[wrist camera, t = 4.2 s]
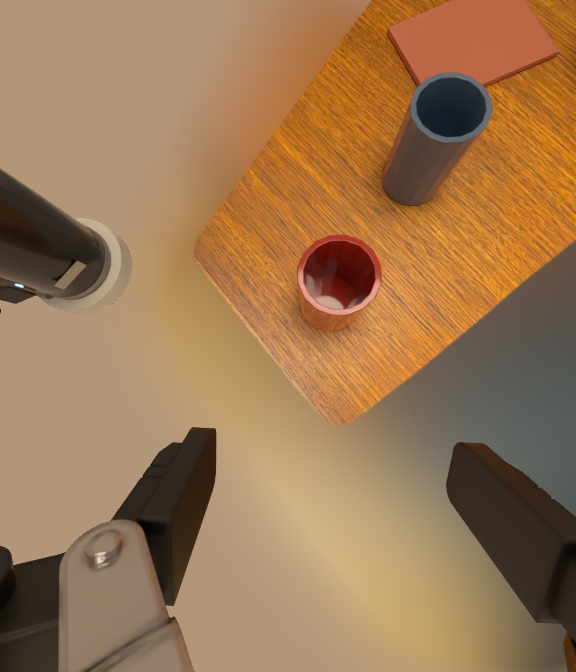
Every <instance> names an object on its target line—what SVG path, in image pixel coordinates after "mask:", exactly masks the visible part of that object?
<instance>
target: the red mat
mask: <svg viewBox="0 0 576 672" xmlns="http://www.w3.org/2000/svg"><path fill="white" fill-rule="evenodd" d="M387 34H388V36H389V38H390V39H391V41H392V43H393V45H394V46H395V48H396V50H397V51H398V53H399V55H400V57H401V58H402V60H403V62H404V64H405V65H406V67H407V69H408V70H409V72H410V74H411V76H412V77H413V79H414V81H415V83H416V84H417V86H420V85H421V84H422V83H423V82H424V81H425V80H426V79H427V78H430V77H432V76H434V75H437V74H439V73H450V72H455V73H456V72H457V73H461V74H464V75H468V76H470V77H473V78H474V79H475V80H477V81H478V82H480V83H481V84H482V85H483V86H484V87H485V86H488V85H490V84H492V83H495V82H497V81H499V80H502V79H504V78H506V77H509V76H511V75H513V74H516V73H518V72H520V71H523V70H525V69H527V68H530V67H532V66H534V65H537V64H539V63H541V62H543V61H546V60H548V59H550V58H553V57H555V56H556V55H557V54H558V52H559V50H558V48H557V47H556V45H555V44H554V42H553V41H552V39H551V38H550V36H549V35H548V34H547V32H546V31H545V29H544V28H543V26H542V25H541V23H540V22H539V20H538V19H537V18H536V16H535V15H534V13H533V12H532V10H531V9H530V7H529V6H528V4H527V3H526V1H525V0H452V1H449V2H447V3H445V4H442V5H440V6H438V7H435V8H433V9H431V10H429V11H426V12H424V13H422V14H419V15H417V16H415V17H412V18H410V19H408V20H405V21H403V22H401V23H398V24H396V25H394V26H391V27H389V28H388V31H387Z"/></svg>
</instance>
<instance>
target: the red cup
mask: <svg viewBox="0 0 576 672" xmlns="http://www.w3.org/2000/svg"><path fill="white" fill-rule="evenodd" d="M297 274H298V294H299V307H300V310H301V313H302V315H303V317H304V318H305V320H306V321H307V322H308V323H309V324H310V325H311V326H313V327H314V328H316V329H318V330H321V331H327V332H332V331H338V330H341V329H343V328H345V327H347V326H349V325H350V324H351V323H352V322H353V321H354V319H355V318H356V317H357V316H358V315H359V314H360V313H361V312H362V311H363V310H364V309H365V308H366V307H367V306H368V305H369V303H370V302H371V301H372V300H373V299H374V298H375V297H376V295H377V292H378V290H379V287H380V284H381V281H382V278H381V265H380V263H379V261H378V259H377V257H376V255H375V253H374V251H373V250H372V249H371V248H370V247H369V246H367V245H366V244H365V243H364V242H363V241H361V240H359V239H356V238H353V237H351V236H348V235H330V236H327V237H325V238H323V239H320V240H318V241H316V242H314V243H313V244H312V245H311V246H310V247H309V248H308V249H307V250H306V251H305V252H304V254H303V255H302V258H301V260H300V263H299V265H298V268H297Z"/></svg>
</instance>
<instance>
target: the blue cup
mask: <svg viewBox="0 0 576 672" xmlns="http://www.w3.org/2000/svg"><path fill="white" fill-rule="evenodd" d="M491 114H492V104H491V98H490V95H489V94H488V92H487V90H486V89H485V87H484V86H483V85H482V84H481V83H480V82H478V81H477V80H475V79H474V78H473V77H470V76H468V75H464V74H461V73H457V72H456V73H455V72H450V73H439V74H437V75H434V76H432V77H430V78H427V79H426V80H425V81H424V82H423V83H422V84H421V85H420V86H418V87H417V88H416V90H415V91H414V94H413V97H412V99H411V102H410V104H409V107H408V109H407V112H406V114H405V117H404V120H403V122H402V125H401V127H400V130H399V132H398V135H397V138H396V140H395V143H394V145H393V148H392V150H391V153H390V156H389V158H388V161H387V163H386V166H385V168H384V171H383V176H382V182H383V186H384V189H385V191H386V192H387V194H388V195H389V196H390V197H391V198H392V199H393V200H395V201H396V202H398V203H401V204H404V205H420V204H423V203H425V202H427V201H429V200H430V199H432V198H433V197H434V196H435V195H436V193H437V192H438V191H439V190H440V189H441V187H442V186H443V185H444V183H445V182H446V181H447V179H448V178H449V177H450V175H451V174H452V172H453V171H454V170H455V168H456V167H457V166H458V164H459V163H460V162H461V160H462V159H463V157H464V156H465V155H466V153H467V152H468V151H469V149H470V148H471V147H472V145H473V144H474V143H475V141H476V140H477V138H478V137H479V136H480V134H481V133H482V132H483V130H484V129H485V128H486V126H487V125H488V122H489V119H490V117H491Z"/></svg>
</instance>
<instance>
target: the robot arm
mask: <svg viewBox="0 0 576 672" xmlns="http://www.w3.org/2000/svg"><path fill="white" fill-rule="evenodd" d="M110 266H111V253H110V249H109V246H108V244H107V242H106V241H105V239H104V238H103V237H102V236H101V235H100V234H98V233H97V232H95V231H94V230H93V229H91V228H89V227H87V226H85V225H84V224H82V223H81V222H79V221H78V220H76V219H75V218H73V217H72V216H70V215H69V214H67V213H66V212H64V211H63V210H61V209H60V208H58V207H57V206H55V205H54V204H52V203H51V202H50V201H48V200H47V199H45V198H44V197H42V196H41V195H39V194H38V193H36V192H35V191H33V190H32V189H30V188H29V187H27V186H25V185H24V184H23V183H21V182H20V181H18V180H17V179H15V178H14V177H12V176H11V175H9V174H8V173H6V172H5V171H3V170H2V169H0V300H3V301H7V302H11V303H15V304H17V303H19V302H21V301H24V300H26V299H28V298H31V297H33V296H39V297H42V298H46V299H51V298H54V297H57V298H60V299H64V300H76V299H81V298H84V297H86V296H88V295H90V294H92V293H93V292H95V291H96V290H97V289H98V288H99V287H100V286H101V285H102V284H103V282H104V281H105V279H106V277H107V275H108V273H109V270H110ZM0 313H1V309H0ZM215 476H216V429H215V428H195V427H192V428H191V429H190V431H189V432H188V434H187V436H186V438H185V439H184V441H183V442H182V443H175V442H173V443H171V444H170V445H168V446H167V447H166V448H164V449H163V450H161V451H160V452H159V453H158V455H157V456H156V457H155V459H154V460H153V462H152V463H151V465H150V467H148V469H147V470H146V471H145V473H144V474H143V477H142V478H140V480H139V481H138V483H137V484H136V486H135V487H134V488H133V490H132V491H131V493H130V494H129V496H128V497H127V498H126V500H125V501H124V502H123V504H122V505H121V507H120V508H119V510H118V511H117V512H116V514H115V515H114V517H113V518H112V519H111V521H109V522H106V523H103V524H100V525H98V526H96V527H94V528H92V529H90V530H89V531H87V532H86V533H84V534H83V535H82V536H80V537H79V538H78V539H77V540H76V541H75V542H74V543H73V544H72V545H71V546H70V547H69V548H68V550H67V551H66V552H65V553H62V554H58V555H55V556H50V557H46V558H42V559H38V560H34V561H29V562H25V563H21V564H17V565H13V561H12V556H11V553H10V551H9V550H8V549H6V548H5V547H1V546H0V672H194V669H193V666H192V663H191V660H190V657H189V653H188V650H187V647H186V644H185V641H184V638H183V635H182V632H181V629H180V626H179V624H178V622H177V620H176V618H175V617H172V618H170V617H169V615H168V612H167V609H166V605H169V606H170V605H171V606H174V604H175V601H176V598H177V595H178V592H179V589H180V586H181V583H182V580H183V577H184V574H185V571H186V568H187V565H188V562H189V559H190V556H191V554H192V550H193V548H194V545H195V542H196V539H197V536H198V533H199V530H200V527H201V524H202V521H203V518H204V515H205V512H206V509H207V506H208V503H209V500H210V497H211V494H212V491H213V487H214V483H215ZM446 487H447V494H448V497H449V499H450V502H451V503H452V505H453V506H454V508H455V509H456V511H457V512H458V513H459V515H460V516H461V518H462V519H463V520H464V522H465V523H466V525H467V526H468V527H469V529H470V530H471V532H472V533H473V534H474V536H475V537H476V538H477V540H478V541H479V543H480V544H481V546H482V547H483V548H484V550H485V551H486V553H487V554H488V555H489V557H490V558H491V560H492V561H493V562H494V564H495V565H496V567H497V568H498V569H499V571H500V572H501V573H502V575H503V576H504V578H505V579H506V581H507V582H508V583H509V585H510V586H511V588H512V589H513V590H514V592H515V593H516V595H517V596H518V597H519V599H520V600H521V602H522V603H523V604H524V605H525V607H526V609H527V610H528V611H529V613H530V614H531V615H532V617H533V618H534V620H535V621H536V622H537V623H557V624H562V625H563V627H564V628H565V629H566V631H567V633H566V635H565V638H564V651H565V657H566V663H567V669H568V672H576V517H575V516H574V515H573V514H571V513H570V512H569V511H568V510H567V509H565V508H564V507H563V506H562V505H561V504H559V503H558V502H557V501H556V500H555V499H551V496H550V495H549V494H547V493H546V492H545V491H544V490H543V489H542V488H538V485H537V484H536V483H535V482H533V481H532V480H531V479H530V478H529V477H528V476H526V475H525V474H524V473H523V472H522V471H520V470H518V469H516V468H515V467H513V466H511V465H509V464H508V463H506V462H505V461H504V460H503V459H501V458H500V457H499V456H498V455H497V454H496V453H495V452H493V451H492V450H491V449H490V448H489V447H488V446H486V445H485V444H482V443H464V442H459V443H457V444H456V445H455V447H454V450H453V454H452V459H451V464H450V468H449V473H448V478H447V483H446Z"/></svg>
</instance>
